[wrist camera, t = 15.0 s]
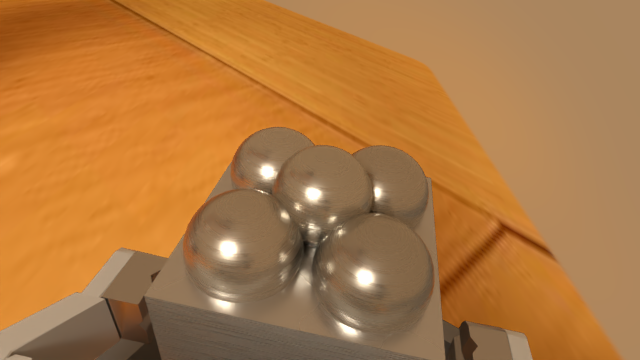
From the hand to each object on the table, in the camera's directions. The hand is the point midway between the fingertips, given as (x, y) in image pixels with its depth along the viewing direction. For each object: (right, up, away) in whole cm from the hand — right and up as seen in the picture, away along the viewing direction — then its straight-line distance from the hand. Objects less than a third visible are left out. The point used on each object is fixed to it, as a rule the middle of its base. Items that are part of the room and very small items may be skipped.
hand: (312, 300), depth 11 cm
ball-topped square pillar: (-1, -8, +5) cm, 9 cm away
